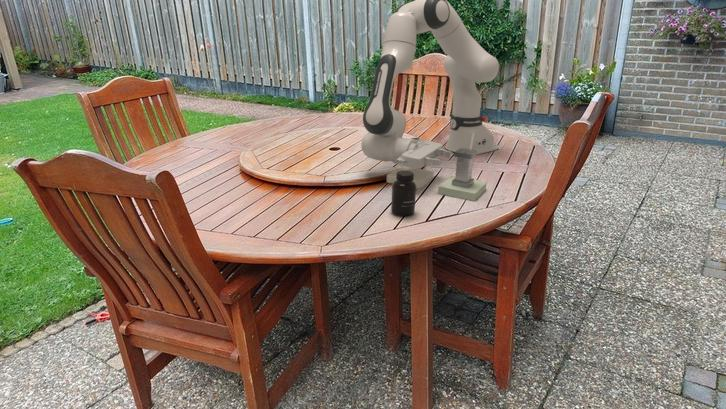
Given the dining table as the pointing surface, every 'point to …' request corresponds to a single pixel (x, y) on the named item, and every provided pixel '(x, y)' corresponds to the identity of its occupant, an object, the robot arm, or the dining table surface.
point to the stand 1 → (419, 175)
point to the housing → (464, 167)
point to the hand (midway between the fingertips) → (445, 158)
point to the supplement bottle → (403, 194)
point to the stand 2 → (462, 189)
